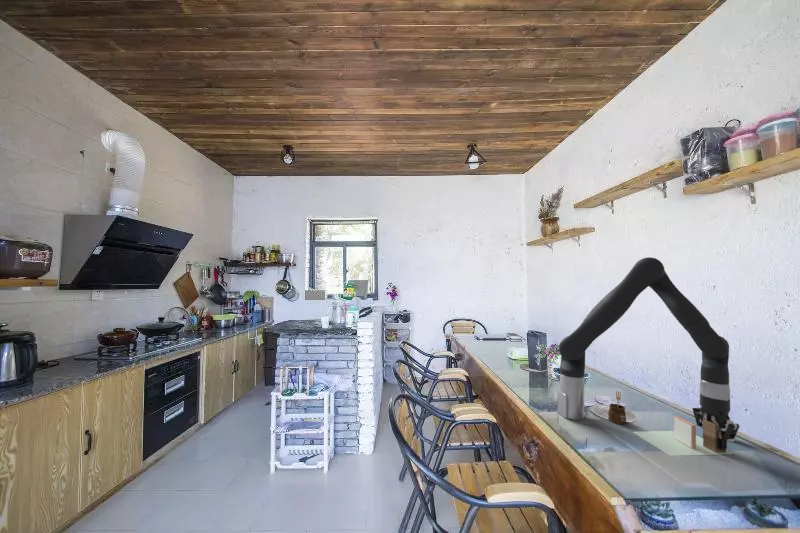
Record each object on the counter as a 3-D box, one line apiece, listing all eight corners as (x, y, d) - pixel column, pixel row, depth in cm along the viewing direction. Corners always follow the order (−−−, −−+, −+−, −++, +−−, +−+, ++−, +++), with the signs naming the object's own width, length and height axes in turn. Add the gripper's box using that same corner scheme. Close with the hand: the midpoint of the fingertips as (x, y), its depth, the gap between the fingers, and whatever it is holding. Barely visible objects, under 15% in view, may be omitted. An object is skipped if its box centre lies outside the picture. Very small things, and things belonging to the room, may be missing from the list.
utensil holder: (606, 423, 132) (606, 393, 132) (610, 418, 136) (610, 389, 136) (624, 428, 128) (624, 397, 128) (627, 423, 132) (627, 393, 132)
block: (715, 452, 109) (715, 425, 109) (703, 445, 113) (703, 419, 113) (726, 451, 110) (726, 424, 110) (713, 445, 113) (713, 419, 114)
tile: (692, 449, 111) (692, 425, 111) (673, 438, 118) (673, 416, 118) (695, 448, 111) (695, 425, 111) (677, 438, 118) (677, 416, 118)
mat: (670, 459, 107) (670, 455, 107) (632, 434, 123) (632, 431, 123) (732, 456, 109) (732, 453, 109) (687, 432, 124) (687, 430, 124)
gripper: (684, 387, 118) (684, 435, 118) (726, 403, 104) (726, 457, 104) (704, 387, 119) (704, 434, 119) (748, 402, 105) (748, 457, 105)
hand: (714, 445), depth 111 cm, fingers closed on block, 4 cm apart
